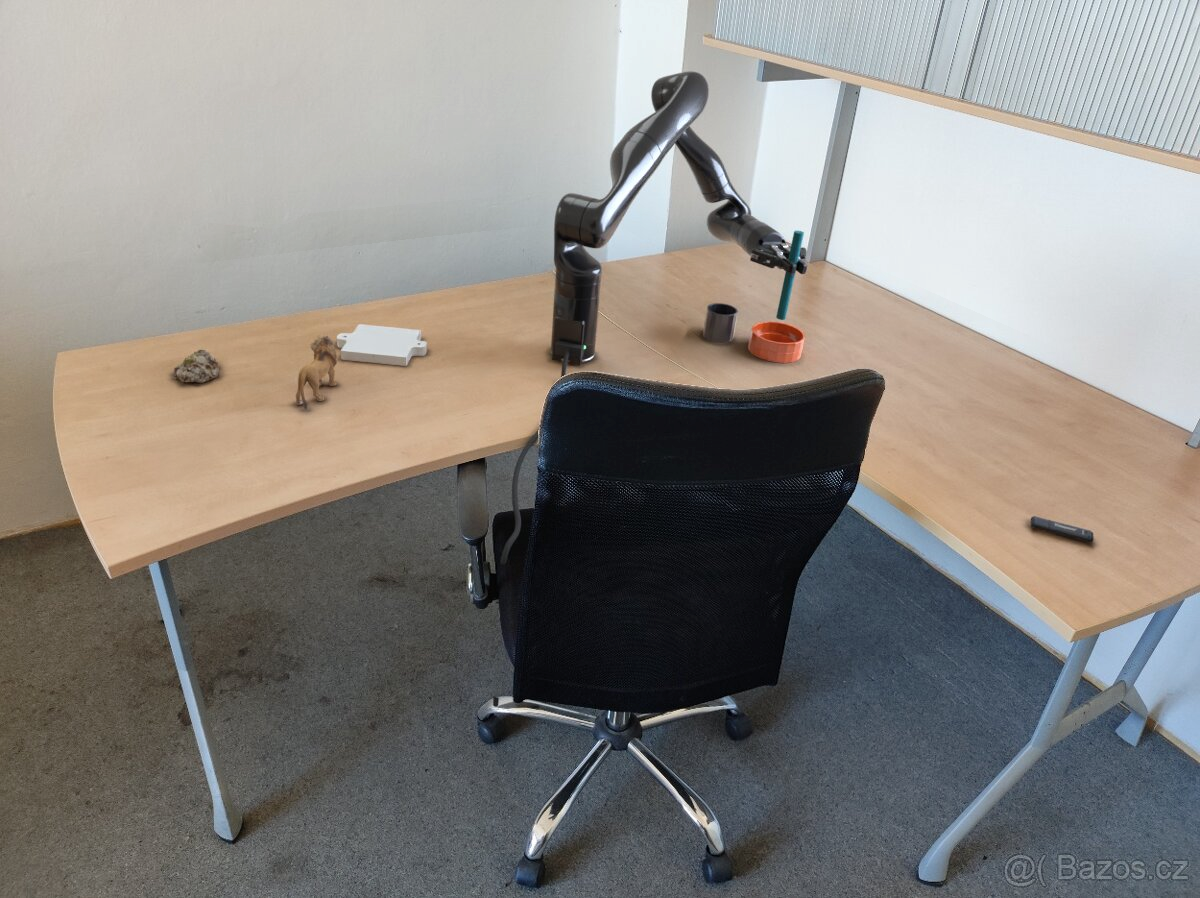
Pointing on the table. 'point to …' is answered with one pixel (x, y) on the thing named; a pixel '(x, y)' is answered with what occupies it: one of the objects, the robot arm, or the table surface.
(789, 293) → the straw
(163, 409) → the table surface
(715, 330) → the tumbler
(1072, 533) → the usb stick
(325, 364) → the lion figurine
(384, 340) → the mounting plate
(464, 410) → the table surface
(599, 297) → the robot arm
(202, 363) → the mineral rock
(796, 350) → the bowl
